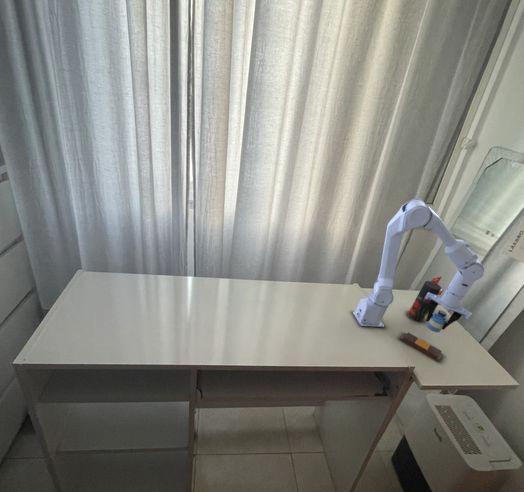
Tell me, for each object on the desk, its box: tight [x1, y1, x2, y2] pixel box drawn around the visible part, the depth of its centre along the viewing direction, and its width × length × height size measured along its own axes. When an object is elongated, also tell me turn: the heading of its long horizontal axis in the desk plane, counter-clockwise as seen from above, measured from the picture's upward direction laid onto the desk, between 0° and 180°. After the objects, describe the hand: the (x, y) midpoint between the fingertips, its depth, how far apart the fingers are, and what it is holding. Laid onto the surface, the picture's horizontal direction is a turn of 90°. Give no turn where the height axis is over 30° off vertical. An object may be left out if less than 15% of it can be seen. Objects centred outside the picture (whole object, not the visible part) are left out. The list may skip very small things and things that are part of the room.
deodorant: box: [407, 280, 442, 322], centre depth 122 cm, size 6×6×15 cm
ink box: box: [430, 276, 444, 297], centre depth 129 cm, size 4×8×15 cm, turn 125°
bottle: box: [425, 310, 449, 333], centre depth 111 cm, size 5×5×7 cm
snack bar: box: [399, 332, 444, 362], centre depth 109 cm, size 14×4×2 cm, turn 49°
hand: (435, 324), depth 112 cm, fingers closed on bottle, 5 cm apart
